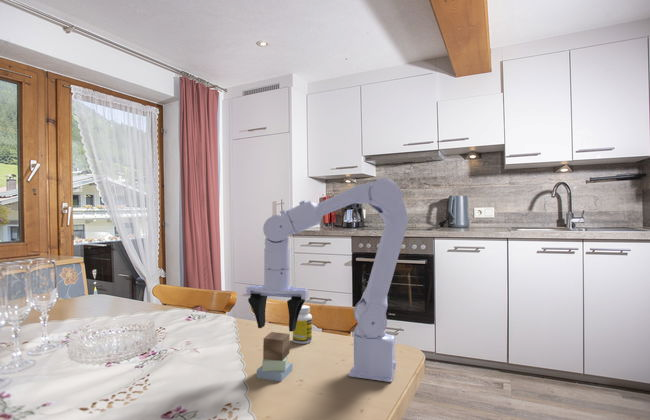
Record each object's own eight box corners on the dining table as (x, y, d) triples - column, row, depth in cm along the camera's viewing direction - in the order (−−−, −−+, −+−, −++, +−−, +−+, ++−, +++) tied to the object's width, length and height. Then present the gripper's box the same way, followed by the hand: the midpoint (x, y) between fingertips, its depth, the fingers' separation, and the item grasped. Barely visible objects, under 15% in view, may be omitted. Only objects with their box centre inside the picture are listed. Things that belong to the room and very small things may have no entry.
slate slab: (292, 372, 85) (292, 363, 85) (281, 384, 80) (281, 373, 80) (268, 369, 87) (268, 359, 87) (256, 380, 81) (256, 370, 81)
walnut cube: (289, 353, 85) (289, 333, 85) (282, 360, 81) (282, 340, 81) (270, 351, 86) (271, 331, 86) (263, 358, 82) (263, 338, 82)
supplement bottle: (309, 345, 102) (309, 309, 102) (290, 343, 103) (290, 308, 103) (313, 338, 107) (314, 304, 108) (295, 337, 108) (296, 303, 109)
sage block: (287, 362, 86) (287, 352, 86) (285, 371, 81) (285, 361, 81) (265, 362, 86) (265, 352, 86) (262, 371, 81) (262, 361, 81)
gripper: (312, 267, 86) (312, 326, 85) (256, 264, 90) (256, 321, 90) (302, 271, 79) (302, 335, 79) (241, 268, 83) (241, 329, 83)
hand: (276, 328), depth 84 cm, fingers open, 7 cm apart
